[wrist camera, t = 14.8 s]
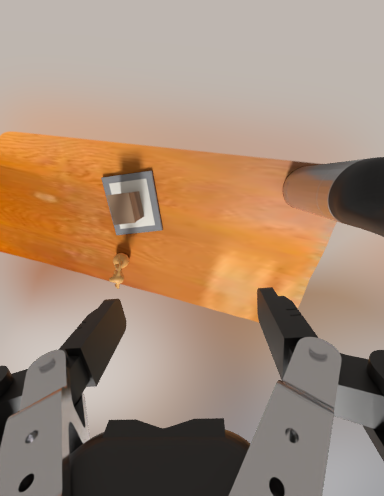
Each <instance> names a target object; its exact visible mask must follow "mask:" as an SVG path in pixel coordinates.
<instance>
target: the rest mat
mask: <svg viewBox="0 0 384 496" xmlns="http://www.w3.org/2000/svg"><path fill="white" fill-rule="evenodd" d="M102 182H103V186H104V190H105V193H106V195H113V194H120V193H128V192H136V191H139V192H140V197H141V202H142V207H143V212H144V217H142V218H141V219H139V220H138V221H136V223H129V224H120V225H114V228H115V231H116V235H123V234H132V233H141V232H150V231H159V230H163V229H162V223H161V218H160V212H159V206H158V201H157V195H156V190H155V184H154V179H153V173H152V171H146V172H139V173H132V174H125V175H117V176H110V177H103V178H102ZM106 197H107V196H106ZM107 201H108V200H107ZM108 205H109V203H108ZM109 209H110V207H109ZM110 212H111V211H110ZM111 216H112V215H111ZM112 220H113V219H112ZM113 224H114V223H113Z"/></svg>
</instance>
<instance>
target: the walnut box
mask: <svg viewBox="0 0 384 496" xmlns="http://www.w3.org/2000/svg"><path fill="white" fill-rule="evenodd" d="M106 196H107V200H108V203H109V207H110V211H111V215H112V219H113V223H114V225H120V224H129V223H136V221H138V220H139V219H141V218H142V217H144V212H143V207H142V202H141V197H140V192H139V191H136V192H128V193H120V194H113V195H106Z"/></svg>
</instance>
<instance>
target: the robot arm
mask: <svg viewBox="0 0 384 496" xmlns="http://www.w3.org/2000/svg"><path fill="white" fill-rule="evenodd" d="M283 196H284V199H285V201H286V202H287V203H288V204H289V205H290V206H292V207H294V208H297V209H300V210H303V211H306V212H309V213H312V214H315V215H318V216H322V217H325V218H328V219H331V220H334V221H338V222H341V223H344V224H347V225H351V226H354V227H358V228H361V229H364V230H367V231H370V232H373V233H375V234H378V235H381V236H383V237H384V157H380V158H370V159H363V160H354V161H346V162H338V163H330V164H321V165H313V166H305V167H301V168H298V169H296V170H295V171H293V172H292V173H291V174H290V175H289V176H288V177H287V179H286V181H285V183H284V186H283ZM257 304H258V319H259V323H260V325H261V328H262V330H263V333H264V335H265V338H266V341H267V343H268V346H269V349H270V351H271V354H272V356H273V359H274V361H275V364H276V367H277V369H278V372H279V374H280V377H281V379H282V381H281V380H278V382H277V383H276V385H275V387H274V390H273V392H272V395H271V397H270V399H269V402H268V404H267V407H266V409H265V411H264V414H263V416H262V418H261V421H260V423H259V425H258V428H257V430H256V432H255V435H254V437H253V440H252V442H251V444H250V443H249V442H248V441H247V440H245V439H244V438H242V437H241V436H239V435H237V434H235V433H233V432H231V431H228V430H225V426H224V419H193V420H189V421H186V422H183V423H180V424H177V425H174V426H171V427H168V428H163V429H162V428H159V427H156V426H153V425H150V424H147V423H144V422H141V421H138V420H109V422H108V424H107V427H106V430H105V432H103V433H101V434H99V435H97V436H95V437H93V438H91V439H90V435H89V427H88V419H87V412H86V404H85V397H84V394H83V391H84V389H85V388H86V387H90V386H97V384H98V382H99V380H100V378H101V376H102V375H103V373H104V371H105V369H106V367H107V365H108V363H109V361H110V359H111V357H112V355H113V353H114V351H115V349H116V347H117V345H118V344H119V342H120V339H121V338H122V336H123V334H124V332H125V329H126V318H125V315H124V311H123V308H122V305H121V301H120V300H119V299H109V300H104V301H103V303H102V304H101V305H100V306H99V308H98V309H96V310H94V311H93V312H91V313H90V314H89V315H88V316H87V317H86V318H85V319H84V320H83V321H82V323H81V324H80V325H79V326H78V327H77V329H76V330H75V331H74V332H73V333H72V334H71V336H70V337H69V338H68V339H67V340H66V342H65V343H64V344H63V345H62V346H61V348H60V349H59V350H54V351H51V352H48V353H46V354H44V355H42V356H41V357H39V358H38V359H37V360H36V361H34V362H33V363H32V364H31V366H30V367H29V368H28V369H26V370H23V371H20V372H16V373H13V374H11V373H10V371H9V369H8V368H7V367H6V366H0V496H322V492H323V486H324V478H325V472H326V465H327V458H328V452H329V445H330V438H331V431H332V424H333V417H334V416H335V417H339V418H342V419H345V420H348V421H351V422H354V423H357V424H360V425H363V427H364V429H365V430H366V432H367V434H368V435H369V437H370V439H371V440H372V442H373V444H374V446H375V447H376V449H377V451H378V452H379V454H380V456H381V457H382V459H383V461H384V350H377V351H374V352H372V353H371V354H370V356H369V359H364V358H359V357H353V356H349V355H345V354H341V353H339V352H338V350H337V349H336V348H335V347H334V346H333V345H332V344H330V343H328V342H327V341H325V340H322V339H319V338H318V337H317V335H316V334H315V332H314V331H313V330H312V328H311V327H310V326H309V324H308V323H307V321H306V320H305V319H304V317H303V316H302V315H301V313H300V312H299V310H297V307H296V306H295V305H294V303H293V302H292V301H291V300H289V299H288V298H286V297H285V296H278V295H277V294H276V292H275V291H274V289H273V288H272V287H271V288H258V290H257Z"/></svg>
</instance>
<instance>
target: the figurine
mask: <svg viewBox="0 0 384 496" xmlns="http://www.w3.org/2000/svg"><path fill="white" fill-rule="evenodd" d="M128 263H129V258H128V256H127V255H126V254H124V253H119V254H117V255H115V256H114V258H113V264H114V266H115V268H116V270H115V271H114V275H113V277H111V278H110V279H109V281H110V282H115V283H116V284H115V286H116V287H117V288H119V284H120V283H122V282H123V281H124V276H123V273H122V272H121V270H122V268H124V267H126V266H127V265H128Z"/></svg>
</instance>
